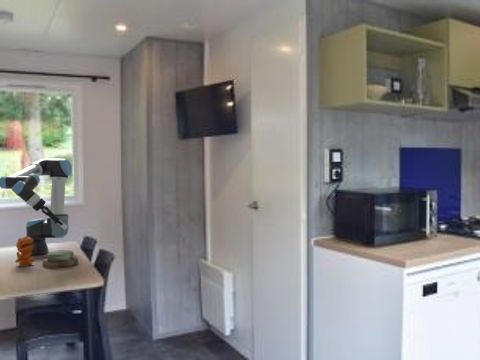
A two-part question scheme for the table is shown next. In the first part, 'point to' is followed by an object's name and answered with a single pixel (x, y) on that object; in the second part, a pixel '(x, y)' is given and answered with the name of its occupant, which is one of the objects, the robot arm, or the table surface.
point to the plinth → (60, 264)
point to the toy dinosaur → (24, 251)
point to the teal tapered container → (56, 228)
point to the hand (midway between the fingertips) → (65, 226)
